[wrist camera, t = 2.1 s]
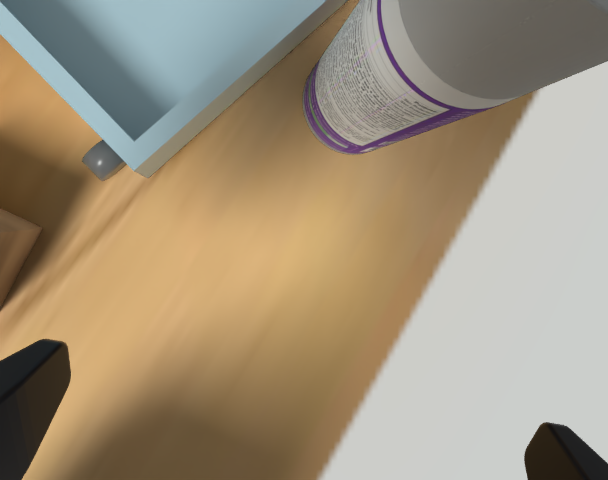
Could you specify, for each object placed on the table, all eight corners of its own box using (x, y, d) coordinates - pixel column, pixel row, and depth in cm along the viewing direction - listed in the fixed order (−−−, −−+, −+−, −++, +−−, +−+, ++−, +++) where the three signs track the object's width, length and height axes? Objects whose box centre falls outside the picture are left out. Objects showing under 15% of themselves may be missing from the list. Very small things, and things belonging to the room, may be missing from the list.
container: (403, 56, 21) (818, -277, 7) (397, 158, 22) (781, 55, 7) (304, 44, 20) (528, -373, 6) (299, 151, 21) (499, 15, 6)
